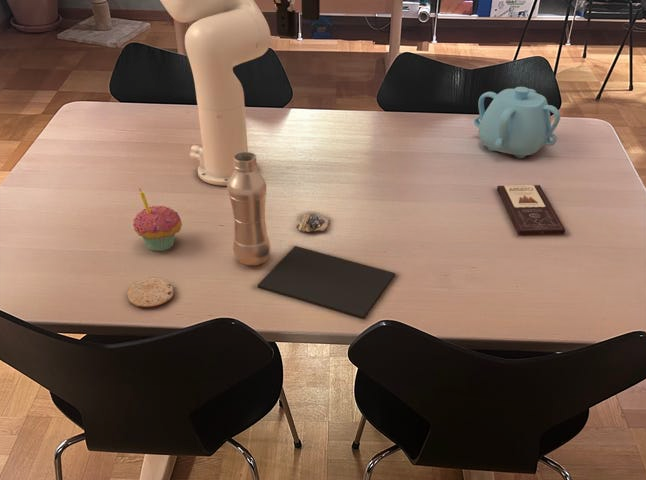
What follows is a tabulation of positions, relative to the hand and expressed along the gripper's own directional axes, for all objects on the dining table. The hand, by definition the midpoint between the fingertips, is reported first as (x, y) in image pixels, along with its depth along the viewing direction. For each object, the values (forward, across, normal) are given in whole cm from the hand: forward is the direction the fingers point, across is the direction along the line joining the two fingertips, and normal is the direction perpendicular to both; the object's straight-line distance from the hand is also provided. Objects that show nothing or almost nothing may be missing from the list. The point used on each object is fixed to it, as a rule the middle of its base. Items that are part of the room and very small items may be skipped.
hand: (298, 27), depth 122 cm
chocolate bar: (+35, -18, +42) cm, 57 cm away
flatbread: (+35, +37, -11) cm, 52 cm away
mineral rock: (+35, +5, +4) cm, 35 cm away
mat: (+35, +21, +14) cm, 43 cm away
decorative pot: (+35, -46, +33) cm, 66 cm away
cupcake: (+35, +23, -19) cm, 46 cm away
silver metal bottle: (+35, +20, 0) cm, 40 cm away
